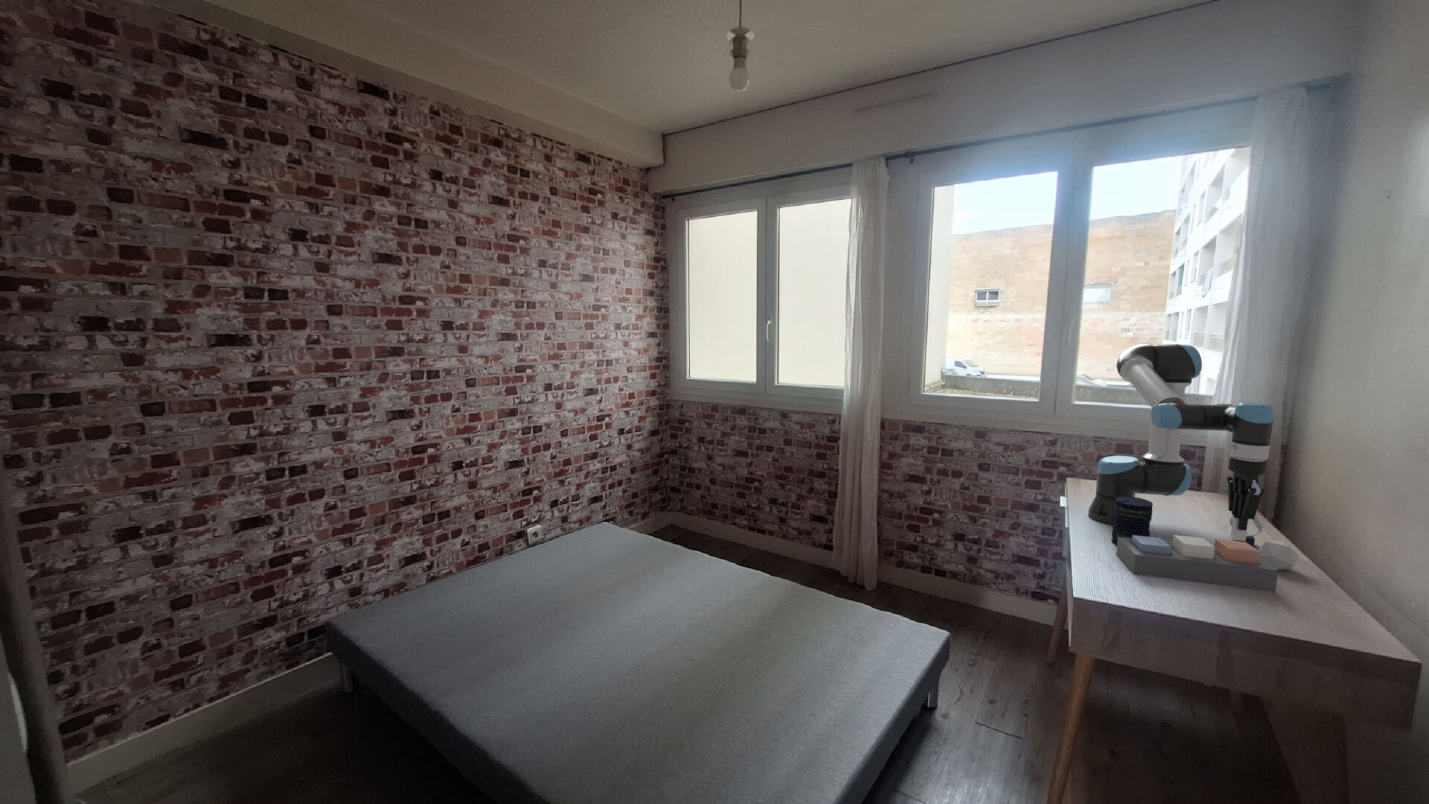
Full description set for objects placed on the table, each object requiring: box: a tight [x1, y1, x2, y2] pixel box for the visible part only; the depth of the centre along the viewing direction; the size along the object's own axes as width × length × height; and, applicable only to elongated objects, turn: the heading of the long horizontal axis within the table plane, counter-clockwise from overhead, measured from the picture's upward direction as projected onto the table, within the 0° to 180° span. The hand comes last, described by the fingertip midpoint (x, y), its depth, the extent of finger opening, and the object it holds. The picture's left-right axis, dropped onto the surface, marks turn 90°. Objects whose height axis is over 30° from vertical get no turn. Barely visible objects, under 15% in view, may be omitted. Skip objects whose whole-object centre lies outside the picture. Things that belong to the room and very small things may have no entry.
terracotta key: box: [1213, 538, 1260, 564], centre depth 153 cm, size 7×7×5 cm
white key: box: [1171, 534, 1215, 559], centre depth 157 cm, size 7×7×5 cm
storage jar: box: [1111, 496, 1154, 546], centre depth 176 cm, size 10×10×15 cm
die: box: [1257, 540, 1301, 571], centre depth 159 cm, size 8×9×10 cm
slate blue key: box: [1132, 535, 1171, 555], centre depth 160 cm, size 7×7×5 cm
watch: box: [1228, 514, 1264, 548], centre depth 176 cm, size 6×8×11 cm
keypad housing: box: [1115, 537, 1279, 592], centre depth 157 cm, size 14×32×6 cm, turn 70°
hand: (1237, 539), depth 153 cm, fingers closed
